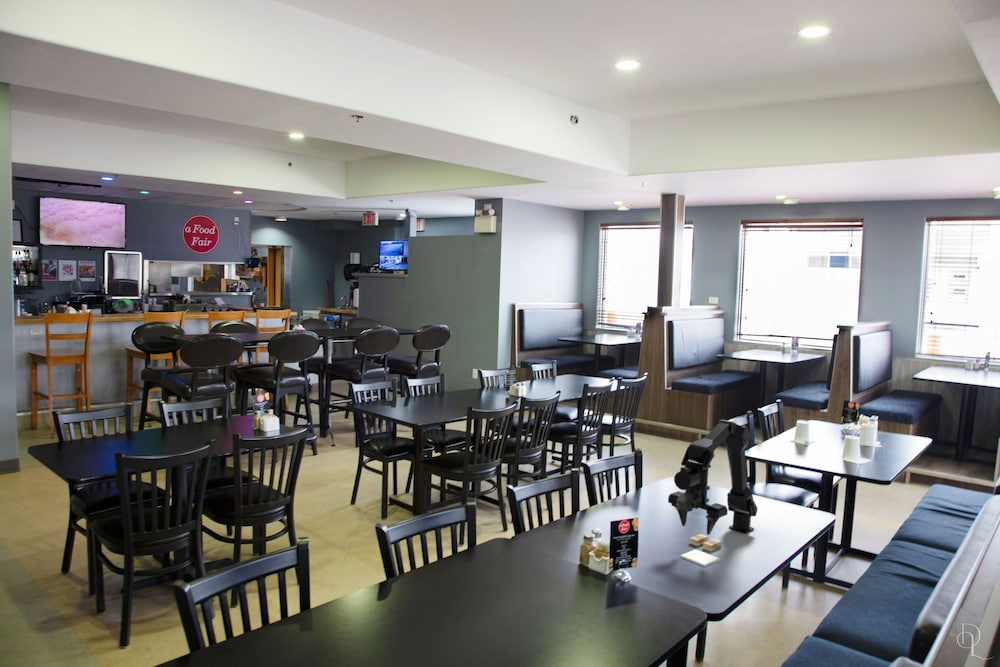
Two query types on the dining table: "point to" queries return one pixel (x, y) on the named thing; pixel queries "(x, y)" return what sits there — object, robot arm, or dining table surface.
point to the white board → (700, 557)
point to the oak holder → (705, 542)
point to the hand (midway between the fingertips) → (695, 530)
